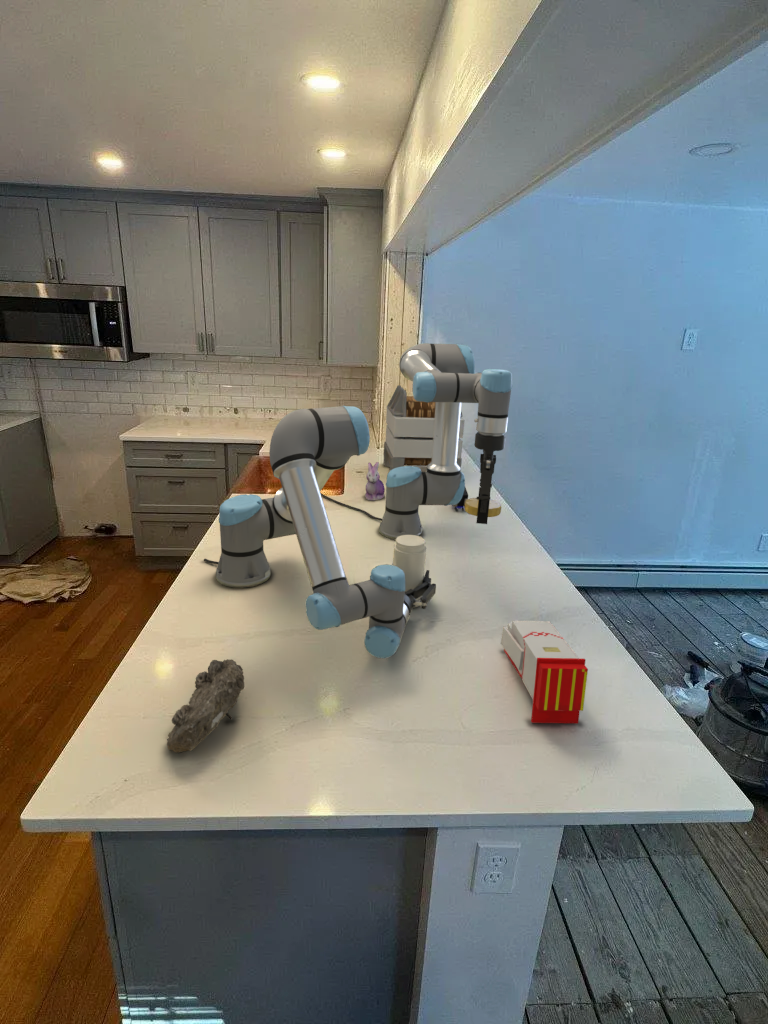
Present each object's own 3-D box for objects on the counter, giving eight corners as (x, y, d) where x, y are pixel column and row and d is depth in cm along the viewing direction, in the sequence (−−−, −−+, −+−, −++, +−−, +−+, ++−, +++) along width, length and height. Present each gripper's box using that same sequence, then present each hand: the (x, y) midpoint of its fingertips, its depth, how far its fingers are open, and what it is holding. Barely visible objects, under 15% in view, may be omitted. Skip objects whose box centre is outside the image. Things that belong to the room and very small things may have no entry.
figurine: (369, 502, 230) (370, 466, 225) (359, 494, 239) (360, 460, 234) (390, 499, 234) (391, 464, 229) (378, 492, 243) (380, 458, 238)
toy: (547, 606, 135) (596, 665, 106) (541, 658, 138) (589, 729, 108) (496, 604, 134) (532, 664, 105) (492, 657, 137) (526, 729, 108)
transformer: (382, 463, 289) (386, 382, 275) (445, 464, 293) (451, 384, 279) (390, 482, 257) (394, 392, 243) (460, 483, 261) (468, 394, 247)
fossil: (192, 660, 117) (244, 628, 112) (224, 691, 120) (276, 661, 115) (142, 746, 98) (202, 712, 93) (182, 779, 101) (242, 748, 96)
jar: (410, 611, 149) (414, 549, 143) (384, 600, 154) (387, 540, 148) (428, 599, 156) (433, 539, 149) (402, 589, 160) (406, 531, 154)
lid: (465, 503, 155) (466, 495, 154) (501, 507, 153) (502, 499, 152) (462, 514, 146) (463, 506, 145) (500, 519, 144) (501, 510, 143)
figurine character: (468, 516, 224) (463, 500, 237) (471, 498, 221) (465, 483, 234) (452, 515, 224) (447, 499, 237) (453, 498, 220) (449, 482, 234)
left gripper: (351, 618, 139) (373, 579, 160) (437, 632, 135) (448, 589, 156) (351, 591, 137) (374, 554, 158) (439, 604, 133) (450, 565, 153)
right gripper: (476, 424, 153) (468, 502, 161) (474, 440, 133) (466, 529, 140) (504, 426, 152) (495, 505, 160) (507, 443, 132) (496, 533, 139)
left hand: (411, 572), depth 157 cm, fingers closed on jar, 9 cm apart
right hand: (481, 516), depth 150 cm, fingers closed on lid, 9 cm apart
